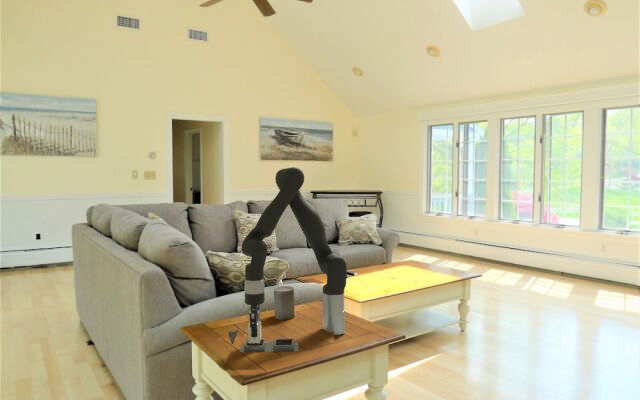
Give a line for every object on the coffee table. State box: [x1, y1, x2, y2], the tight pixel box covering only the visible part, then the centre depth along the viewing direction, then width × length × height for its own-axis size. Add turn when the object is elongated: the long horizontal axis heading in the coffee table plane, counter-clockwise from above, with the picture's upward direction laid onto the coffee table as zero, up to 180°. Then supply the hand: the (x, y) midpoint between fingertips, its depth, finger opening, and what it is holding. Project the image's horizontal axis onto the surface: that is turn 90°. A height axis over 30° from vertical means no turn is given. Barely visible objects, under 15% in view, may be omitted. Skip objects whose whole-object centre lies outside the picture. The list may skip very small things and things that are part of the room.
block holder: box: [239, 338, 299, 353], centre depth 179 cm, size 22×9×3 cm, turn 92°
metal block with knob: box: [247, 320, 262, 343], centre depth 179 cm, size 4×4×8 cm
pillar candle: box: [273, 285, 295, 321], centre depth 221 cm, size 10×10×15 cm
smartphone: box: [228, 330, 239, 344], centre depth 195 cm, size 7×1×15 cm
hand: (254, 334), depth 179 cm, fingers closed on metal block with knob, 4 cm apart
